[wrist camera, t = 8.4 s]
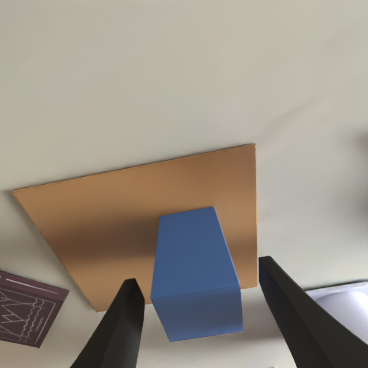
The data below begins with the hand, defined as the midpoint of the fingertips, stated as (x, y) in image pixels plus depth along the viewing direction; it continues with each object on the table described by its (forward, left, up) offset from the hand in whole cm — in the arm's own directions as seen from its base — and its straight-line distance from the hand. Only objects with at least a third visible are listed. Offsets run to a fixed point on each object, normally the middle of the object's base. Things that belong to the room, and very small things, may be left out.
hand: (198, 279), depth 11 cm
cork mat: (-1, +3, -4) cm, 5 cm away
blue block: (0, 0, -4) cm, 4 cm away
